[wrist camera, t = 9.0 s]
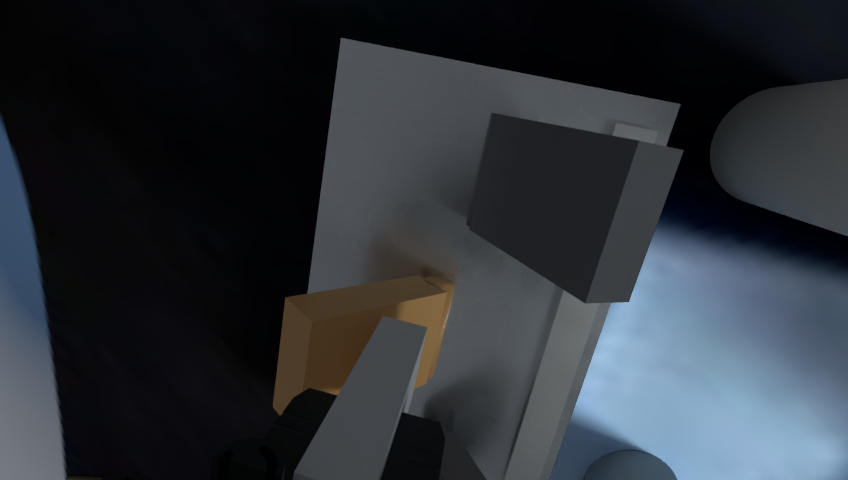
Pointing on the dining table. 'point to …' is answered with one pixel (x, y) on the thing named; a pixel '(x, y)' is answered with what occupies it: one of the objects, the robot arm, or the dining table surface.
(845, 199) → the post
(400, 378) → the robot arm
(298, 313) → the block
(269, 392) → the dining table surface
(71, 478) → the eiffel tower
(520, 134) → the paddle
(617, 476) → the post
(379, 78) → the block
